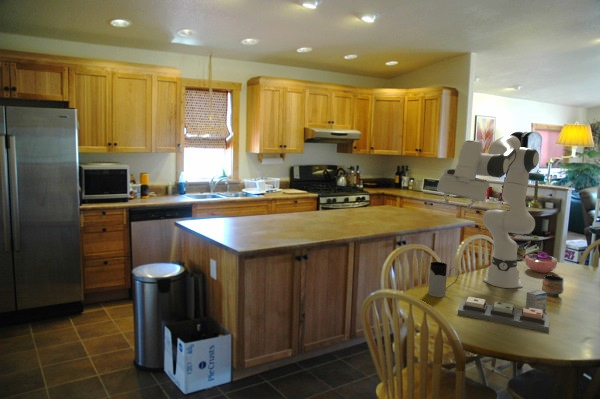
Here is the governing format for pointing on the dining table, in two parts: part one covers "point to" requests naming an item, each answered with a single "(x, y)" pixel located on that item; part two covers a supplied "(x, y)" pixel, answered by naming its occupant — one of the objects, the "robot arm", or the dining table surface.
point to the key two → (503, 307)
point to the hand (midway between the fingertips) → (457, 206)
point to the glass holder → (438, 279)
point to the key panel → (505, 316)
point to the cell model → (541, 262)
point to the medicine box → (536, 300)
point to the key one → (475, 302)
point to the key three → (532, 312)
